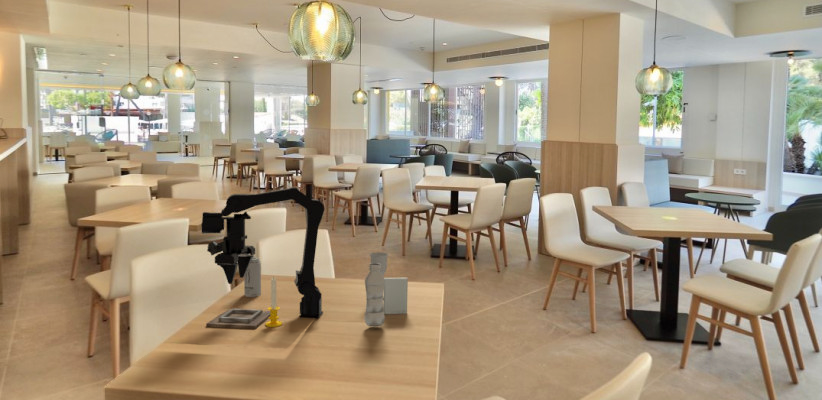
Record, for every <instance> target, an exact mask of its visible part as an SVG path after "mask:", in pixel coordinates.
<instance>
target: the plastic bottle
mask: <svg viewBox="0 0 822 400" xmlns="http://www.w3.org/2000/svg"><path fill="white" fill-rule="evenodd" d="M368 267H369V268H368V270H369V272H368V274H367V275H366V277H365V279H364V286H365V297H366V300H365V301H366V303H365V304H366V305H365V311H364V312H365V313H364V322H365V323H364V324H366V326H368V327H371V328H373V327H380V326H383V324H384V323H385V319H386V318H385V317H386V316H385V315H386V314H384V311H383V310H384V300H383V298H384V284H385V279H384V278H385V276H383V275H382V274H381V272H380V270H381V264H379V263H371V262H370V263H369V265H368Z"/></svg>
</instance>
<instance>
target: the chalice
mask: <svg viewBox="0 0 822 400" xmlns="http://www.w3.org/2000/svg"><path fill="white" fill-rule="evenodd" d="M369 257H370V264H371V263H379V264H381V270H380V272H381V274H382V275H383V277H385V274H386V271H387V269H388V257H389V253H387V252H370V253H369ZM383 301H384V297H383Z"/></svg>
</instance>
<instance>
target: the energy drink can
mask: <svg viewBox="0 0 822 400" xmlns="http://www.w3.org/2000/svg"><path fill="white" fill-rule="evenodd" d="M261 265H262V262H261V260H260V257H256V256H255V257H253V258H252V260H251V262H250V264H249V266H248V268H247V270H246V273H245V275H244V277H243V278H244V279H243V281H244V288H243V289H244V297H247V298H256V297H259V296H261V295H262V266H261Z"/></svg>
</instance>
